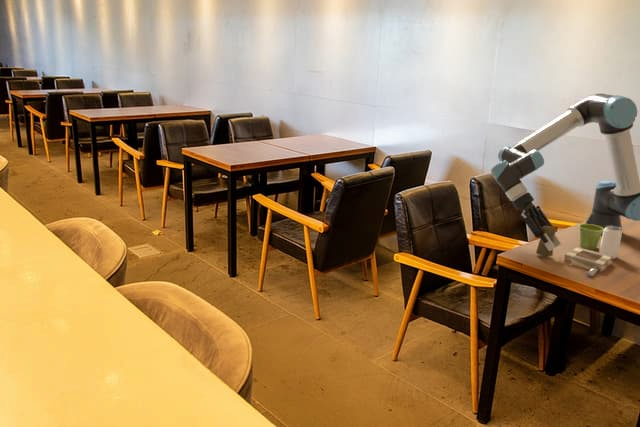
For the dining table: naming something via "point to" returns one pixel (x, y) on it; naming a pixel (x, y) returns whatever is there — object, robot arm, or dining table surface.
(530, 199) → the robot arm
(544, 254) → the olive rounded piece
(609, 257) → the birch socket block
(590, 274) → the steel rod
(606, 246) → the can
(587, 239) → the plant pot
